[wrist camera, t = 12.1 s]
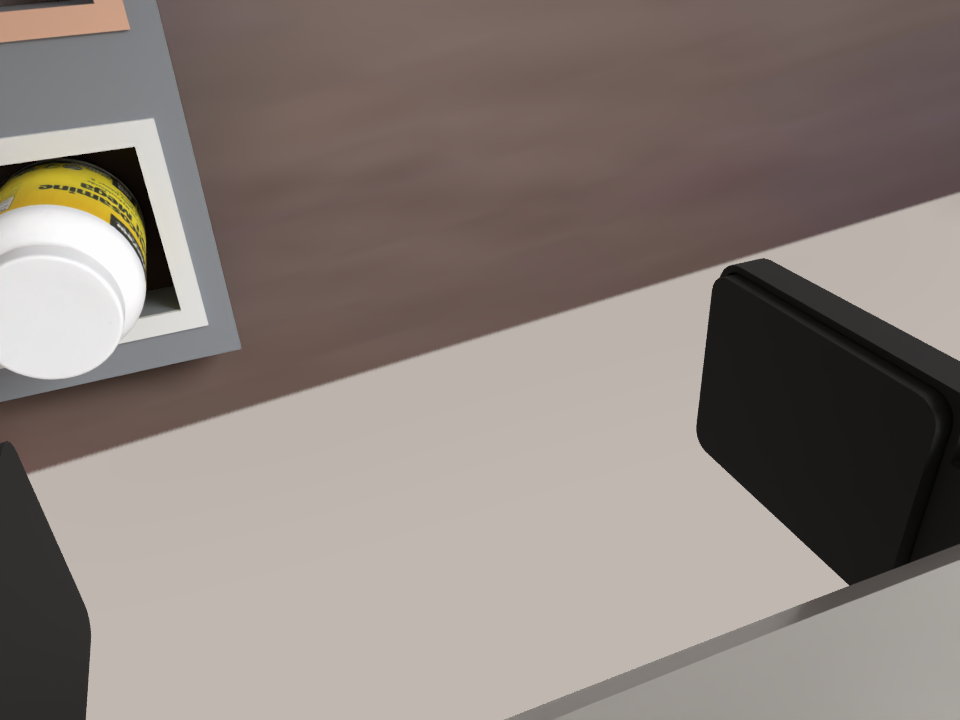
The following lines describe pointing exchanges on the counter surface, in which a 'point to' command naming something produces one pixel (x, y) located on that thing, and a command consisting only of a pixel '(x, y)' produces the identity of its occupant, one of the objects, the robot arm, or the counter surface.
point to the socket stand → (107, 126)
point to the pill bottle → (67, 268)
